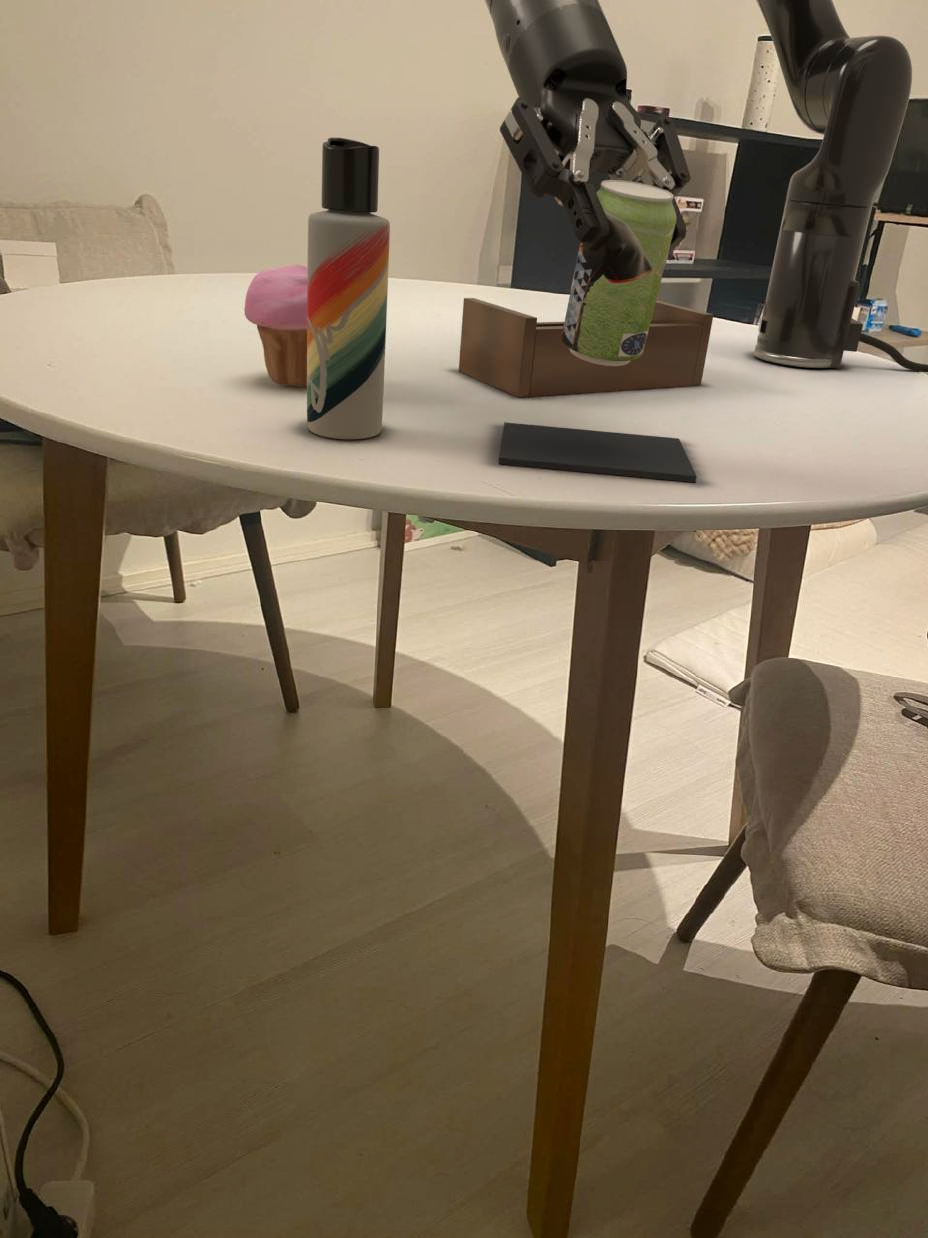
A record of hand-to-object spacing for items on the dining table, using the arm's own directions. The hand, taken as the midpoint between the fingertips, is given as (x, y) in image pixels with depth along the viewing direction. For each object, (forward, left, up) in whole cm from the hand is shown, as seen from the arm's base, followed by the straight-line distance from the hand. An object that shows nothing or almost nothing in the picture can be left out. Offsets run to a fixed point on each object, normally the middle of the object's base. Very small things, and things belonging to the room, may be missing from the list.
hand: (637, 242), depth 66 cm
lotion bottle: (+20, -1, -15) cm, 25 cm away
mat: (+1, -1, -15) cm, 15 cm away
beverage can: (+1, -1, -8) cm, 9 cm away
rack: (+1, -28, -15) cm, 32 cm away
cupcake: (+27, -15, -15) cm, 35 cm away
